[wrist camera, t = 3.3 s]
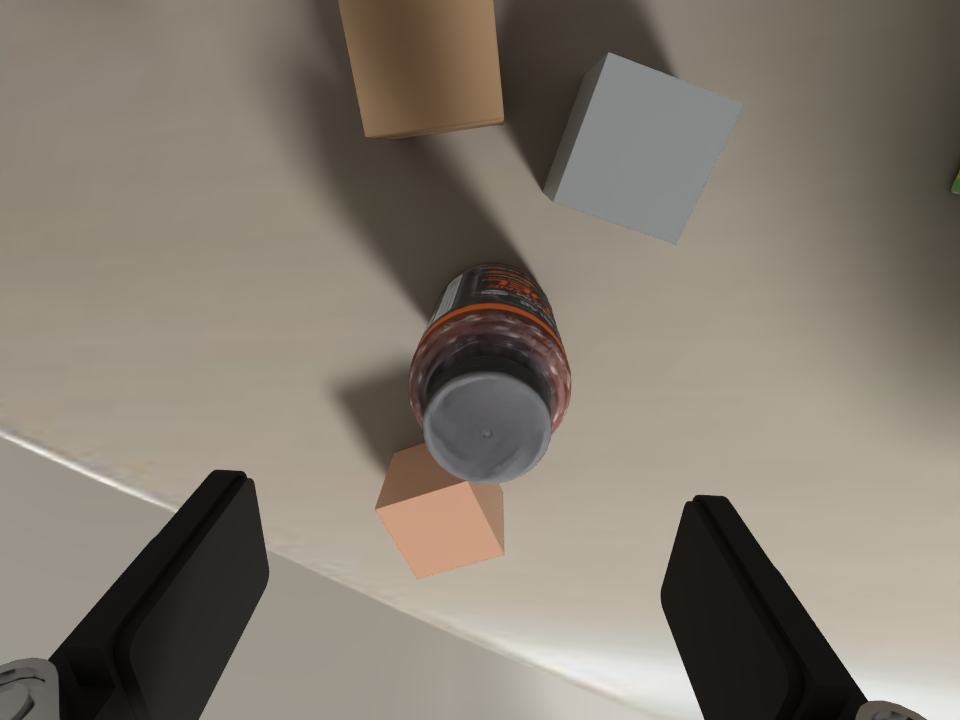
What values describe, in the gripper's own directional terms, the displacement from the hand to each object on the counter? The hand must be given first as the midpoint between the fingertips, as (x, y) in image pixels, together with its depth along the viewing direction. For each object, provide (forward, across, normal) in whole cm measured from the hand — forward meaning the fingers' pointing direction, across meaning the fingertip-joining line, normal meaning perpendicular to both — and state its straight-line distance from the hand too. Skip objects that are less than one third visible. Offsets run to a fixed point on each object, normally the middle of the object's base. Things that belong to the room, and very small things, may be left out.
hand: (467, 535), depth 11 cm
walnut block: (+16, +2, -11) cm, 19 cm away
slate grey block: (+16, -6, -8) cm, 18 cm away
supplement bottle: (+16, -1, 0) cm, 16 cm away
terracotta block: (+16, +1, +10) cm, 19 cm away
